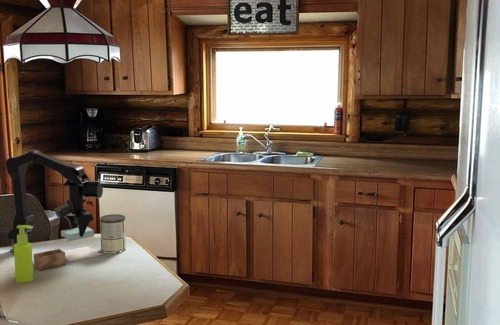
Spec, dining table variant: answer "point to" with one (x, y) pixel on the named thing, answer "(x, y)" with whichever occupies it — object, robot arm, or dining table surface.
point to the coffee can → (112, 233)
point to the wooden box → (49, 259)
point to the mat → (80, 253)
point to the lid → (76, 234)
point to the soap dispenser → (23, 256)
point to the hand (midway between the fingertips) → (77, 234)
